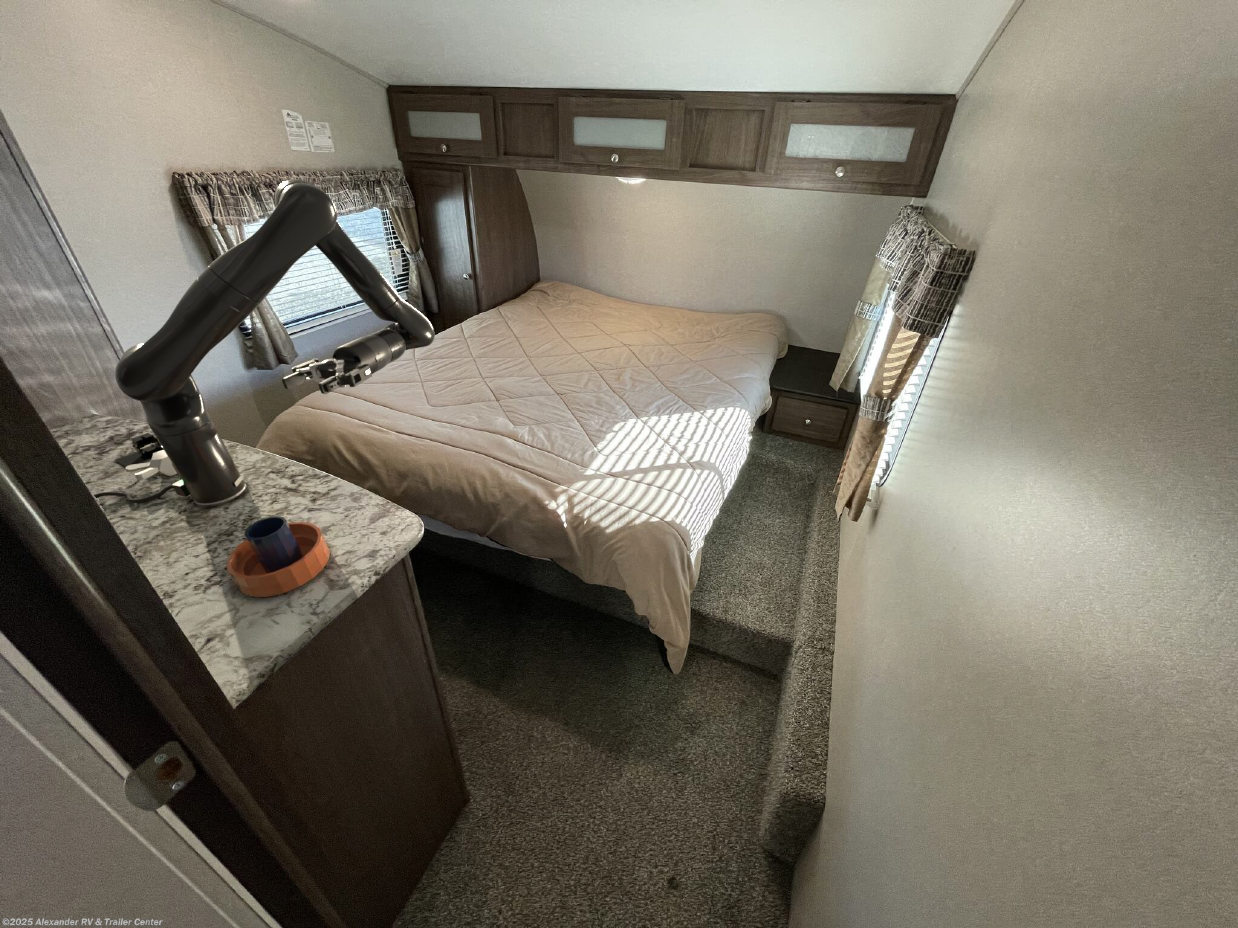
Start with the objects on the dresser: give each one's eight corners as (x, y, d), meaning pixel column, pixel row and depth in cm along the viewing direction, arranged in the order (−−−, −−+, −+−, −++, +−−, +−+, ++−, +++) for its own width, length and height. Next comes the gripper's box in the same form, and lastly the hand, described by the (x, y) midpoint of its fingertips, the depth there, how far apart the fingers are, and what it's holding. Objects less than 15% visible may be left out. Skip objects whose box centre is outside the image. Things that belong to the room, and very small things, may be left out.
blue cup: (258, 574, 85) (235, 535, 80) (286, 552, 90) (266, 513, 85) (285, 581, 84) (264, 541, 79) (312, 557, 89) (294, 519, 84)
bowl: (219, 589, 83) (205, 568, 81) (288, 536, 95) (277, 516, 92) (285, 606, 80) (273, 585, 77) (348, 549, 91) (339, 529, 89)
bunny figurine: (215, 446, 117) (134, 469, 106) (222, 465, 119) (144, 490, 108) (197, 436, 121) (118, 458, 110) (204, 455, 124) (127, 478, 112)
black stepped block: (128, 468, 117) (116, 452, 115) (115, 461, 120) (103, 444, 118) (186, 444, 126) (177, 429, 124) (172, 438, 129) (163, 423, 127)
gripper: (330, 337, 104) (264, 364, 91) (387, 342, 100) (327, 371, 87) (342, 370, 108) (280, 401, 95) (396, 376, 105) (340, 409, 91)
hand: (302, 387), depth 91 cm, fingers open, 8 cm apart
